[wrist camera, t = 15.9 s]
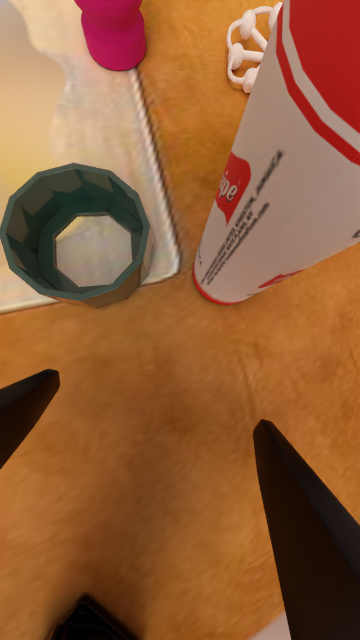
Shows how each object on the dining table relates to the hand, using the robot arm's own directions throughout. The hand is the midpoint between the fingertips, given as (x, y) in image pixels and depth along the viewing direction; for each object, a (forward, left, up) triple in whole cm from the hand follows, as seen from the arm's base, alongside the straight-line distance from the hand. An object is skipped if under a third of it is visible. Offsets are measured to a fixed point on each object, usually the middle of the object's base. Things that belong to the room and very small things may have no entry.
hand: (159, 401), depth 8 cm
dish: (+12, -4, -9) cm, 16 cm away
